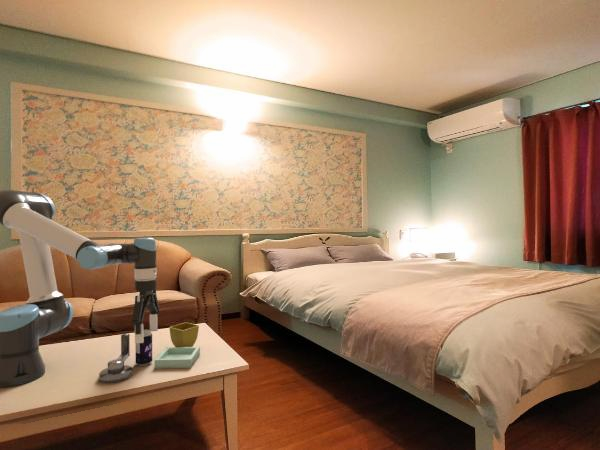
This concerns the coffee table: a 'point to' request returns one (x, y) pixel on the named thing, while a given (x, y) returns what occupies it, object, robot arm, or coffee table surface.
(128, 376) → the crank base
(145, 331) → the beverage can
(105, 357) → the coffee table surface
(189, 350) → the tray
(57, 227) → the robot arm
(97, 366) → the coffee table surface
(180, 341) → the flower pot
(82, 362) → the coffee table surface
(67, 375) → the coffee table surface
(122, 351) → the crank
